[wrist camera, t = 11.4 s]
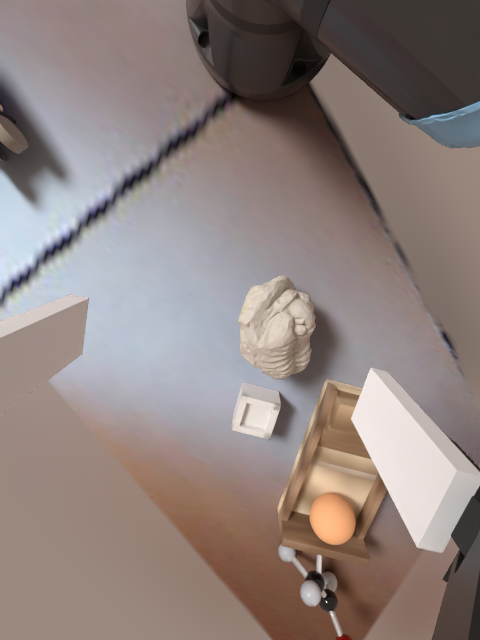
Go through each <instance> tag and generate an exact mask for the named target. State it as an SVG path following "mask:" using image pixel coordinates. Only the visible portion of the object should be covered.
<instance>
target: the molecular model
mask: <svg viewBox="0 0 480 640" xmlns="http://www.w3.org/2000/svg"><path fill="white" fill-rule="evenodd" d="M278 553H279V556H280V558H281V559H282V560H283V561H285V562H291V561H292V563H293V564H294V565H295V566H296V568H297V569H298V570H299V571H300V573H301V574H302V575H303V576H304V578H305V582H304V583H303V584H302V586H301V590H300V593H301V598H302V600H303V602H304V603H305V604H306V605H308V606H311V607H314V606H316V605H318V604H319V605H320V607H321V608H322V610H324V611H325V612H327V613H330V616H331V618H332V621H333V624H334V626H335V629H336V632H337V634H338V637H337V638H336V640H352V639H351V638H350V637H349V636H348V635H346V634H343V632H342V630H341V627H340V624H339V622H338V619H337V617H336V614H335V612H334V611H335V610H336V608H337V605H338V601H337V597H336V595H335V593H334V591H335V590H336V589H337V579H336V577H335V575H334V574H333V573H332V572H329V571H325V572H323V573H322V556H321V555H317V558H316V571H314V570H313V571H310V572H309V573H308V572H307V571H306V570H305V568H304V567H303V566H302V565H301V563H300V562H299V561H298V560H297V559H296V557H295V556H296V549H292V548H288V547H284V546H281V544H280V545H279V549H278Z"/></svg>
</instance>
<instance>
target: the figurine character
mask: <svg viewBox="0 0 480 640" xmlns="http://www.w3.org/2000/svg"><path fill="white" fill-rule="evenodd" d="M2 111H3V108H2V106H1V105H0V141H1V142H2V143H3V144H4V145H5V146H6V147H7V148H8V149H10V150H11V151H13V152H14V153H17V154H20V153H21V152H22V151H23V150H25V149H26V148H27V147H28V146H29V145H28V142H27V140H26V139H25V137H24V136H23V134H22V133H21V132H20V130H19V129H18V128H17V127H16V126H15V125H14V124H15V123H16V121H15V120H14V118H13V117H11V116H10V115H8V114H6V113H4V112H2ZM0 159H1V160H4V161H6V155H5V154H4V153H3V151H2V150H1V149H0Z"/></svg>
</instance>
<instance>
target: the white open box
mask: <svg viewBox="0 0 480 640" xmlns="http://www.w3.org/2000/svg"><path fill="white" fill-rule="evenodd" d="M280 408H281V402H280V397H279V391H276V390H272V389H268V388H264V387H260V386H256V385H253V384H249V383H245V382H243V383H242V386H241V389H240V393H239V396H238V399H237V403H236V406H235V409H234V413H233V421H232V430H234V431H238V432H242V433H246V434H250V435H254V436H258V437H262V438H265V439H269V440H270V437H271V434H272V431H273V428H274V425H275V422H276V419H277V416H278V413H279V411H280Z"/></svg>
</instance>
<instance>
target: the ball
mask: <svg viewBox="0 0 480 640" xmlns="http://www.w3.org/2000/svg"><path fill="white" fill-rule="evenodd" d="M310 523H311V526H312V529H313V530H314V532H315V534H316V535H317V536H318V537H319V538H320V539H321V540H322V541H324V542H326V543H328V544H331V545H340V544H343V543H345V542H347V541H348V540H349V539H350V538H351V537H352V535H353V533H354V530H355V525H356V520H355V515H354V512H353V509H352V507H351V506H350V504H349V503H348V502H347V501H346V500H345V499H344V498H343V497H341V496H339V495H337V494H333V493H326V494H322V495H320V496H319V497H317V498H316V499H315V500H314V502H313V503H312V506H311V508H310Z"/></svg>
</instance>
